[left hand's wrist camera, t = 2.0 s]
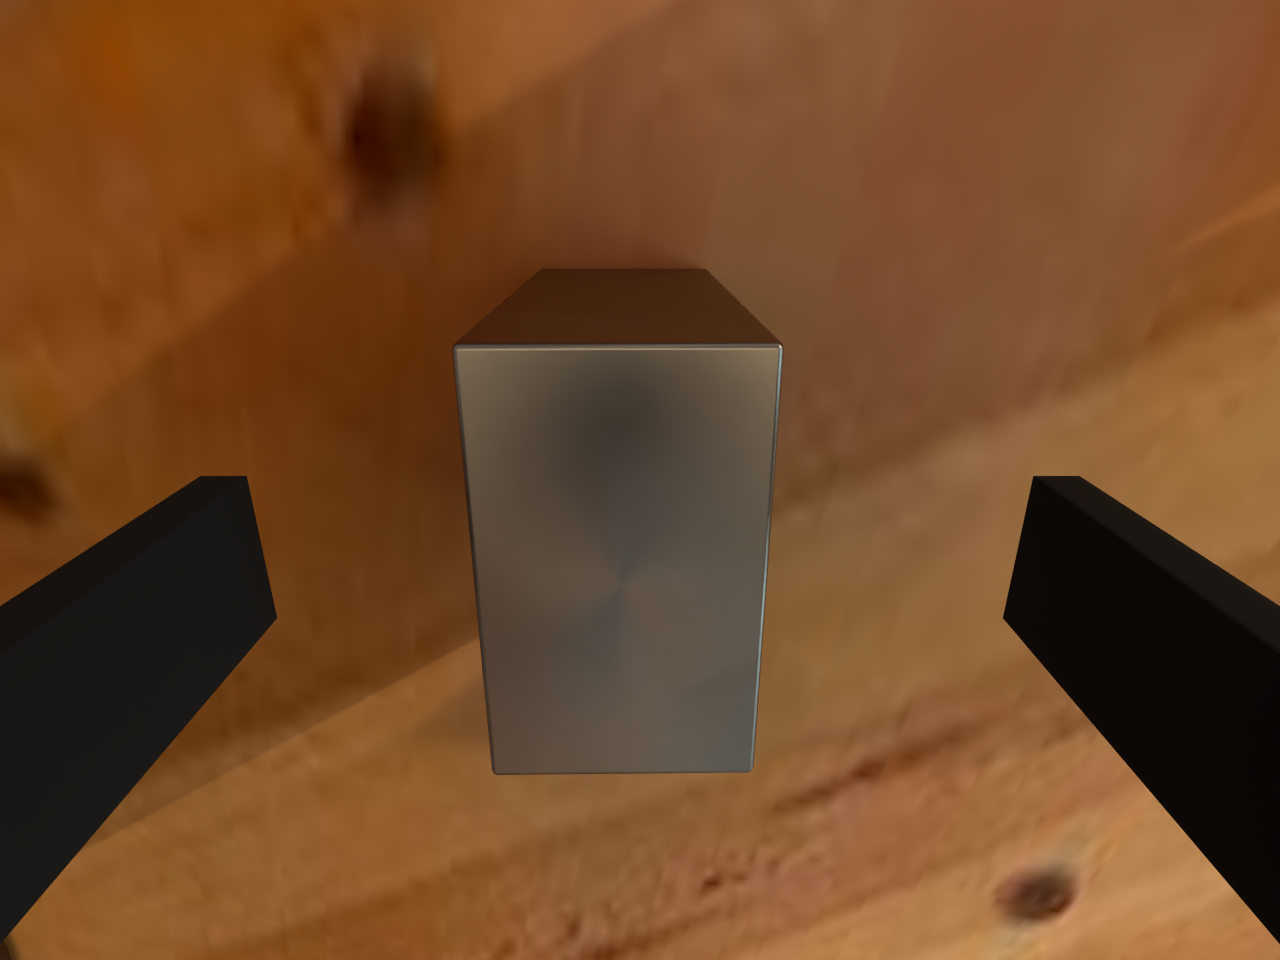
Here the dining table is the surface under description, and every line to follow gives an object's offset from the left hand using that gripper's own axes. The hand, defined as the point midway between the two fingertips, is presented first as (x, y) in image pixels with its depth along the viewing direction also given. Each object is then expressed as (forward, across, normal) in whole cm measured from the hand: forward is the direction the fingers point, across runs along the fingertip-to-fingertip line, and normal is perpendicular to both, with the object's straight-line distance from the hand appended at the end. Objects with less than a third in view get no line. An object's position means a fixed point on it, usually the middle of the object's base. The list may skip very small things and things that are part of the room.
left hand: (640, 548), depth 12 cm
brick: (+10, 0, 0) cm, 10 cm away
